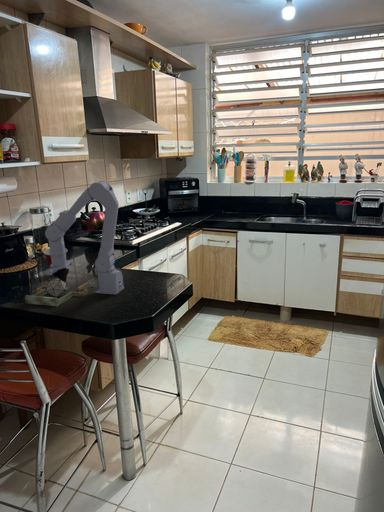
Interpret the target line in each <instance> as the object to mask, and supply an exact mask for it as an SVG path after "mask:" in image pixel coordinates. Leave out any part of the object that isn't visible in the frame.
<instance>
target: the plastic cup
mask: <svg viewBox="0 0 384 512" xmlns="http://www.w3.org/2000/svg"><path fill="white" fill-rule="evenodd" d="M65 253H66V255H67V253H68V249H67V248H66V247H65ZM43 254H44V256H45V259H46V261H47V265H48V267H49V268H50V265H52V261H51V254H50V248H46V249H45V250H43ZM49 268H48V269H49ZM51 276H53V277H55V276H54V275H53V274H52V275H51Z"/></svg>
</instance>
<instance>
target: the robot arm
mask: <svg viewBox="0 0 384 512" xmlns="http://www.w3.org/2000/svg"><path fill="white" fill-rule="evenodd" d="M93 200H95V201H97V202H99V203H100V204H101V205H102V207H104V216H103V222H102V223H103V225H102V232H101V233H102V234H101V241H100V248H99V251H98V256H97V258H96V259H95V262H94V266H95V267H94V268H96V270H97V279H98V289H97V290H96V291H94V293H95V294H102V295H103V294H104V295H105V294H106V295H117V294H118V293H120V292H121V291H123V290H124V289H125V286H124V278H123V273H122V271H121V270H118V269H116V267H115V263H116V256H115V249H114V246H115V245H114V244H115V236H116V230H117V222H118V212H119V206H120V205H119V201H118V199H117V196H116V194H115V191H114V188H113V186H112V185H110V183H109V182H107V181H105V180H100V181H99V180H98V181H97V182H93V183H91V184H90V185H89V187H87V188H86V189H85V190H84V191H83V192H82V193H81V195H80V196H79V197H78V198H77V199H76V201H74V203H73V204H72V206H71V207H70V208H69V209H67V210H62V211H60V212H59V213H58V217H57V218H56V219H55V220H52V221H51V225H49V226H47V227H46V229H45V233H44V235H45V237H46V239H47V240H48V247H49V249H50V254H51V261H52V265H50V268H48V269H46V270H45V274H46V275H47V276H53V275H54V276H53V277H55V278H57V277H56V276H58V278H59V279H61V280H62V281H64V282H66V283H67V277H68V274H69V272H70V268H67V267H69V266H72V265H73V259H72V260H71V259H68V260H67V254H66V253H65V248H66V246H65V240H64V236H65V235H66V232H67V231H68V230H69V229H70V228H71V226H72V225H73V224H74V223H75V222H76V220H77V217H76V216H77V215H78V213H79V212H80V211H81V210H82V209H84V207H85V206H86V205H87V204H88V203H89V202H91V201H93ZM52 274H53V275H52Z"/></svg>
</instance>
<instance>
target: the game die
mask: <svg viewBox="0 0 384 512" xmlns="http://www.w3.org/2000/svg"><path fill="white" fill-rule="evenodd" d="M56 277H57V278H52V279H48V278H47V279H46V281H47V282H48V283H47V284H46V286H47V289H46V291H45V292H47V294H49V295H51V297H52V296H53V297H54V298H58V297H61V296H64V295H66V293H65V292H67V290H66V287H67V284H69V282H67V281H66V282H64V281H62V280H61V279H59V278H58V276H56Z"/></svg>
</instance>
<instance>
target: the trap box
mask: <svg viewBox="0 0 384 512" xmlns="http://www.w3.org/2000/svg"><path fill="white" fill-rule="evenodd" d="M76 288H77V289H76V290H77V291H73V290H72V291H71V290H70V291H69V292H68V293H65V295H64V294H63V295H62V296H60V297H59V298H58V297H56V298H55V297H54V296H53V297H52V296H51V297H50V296H44V295H46V294H48V292H45V291H46V289H47V285H41V286H39V287H37V288H35V292H36V293H33V294H32V295H29V294H26V295H24V298H25V304H29V305H40V306H50V307H58V306H60V305H61V304H63V303H65V302H66V301H68V300H70V299H71V298H72V297H84V296H85V295H87V294H89V293H90V292H89V289H88V288H90V283H89V282H85V283H83V284H81V285H79V286H77V287H76Z"/></svg>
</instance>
